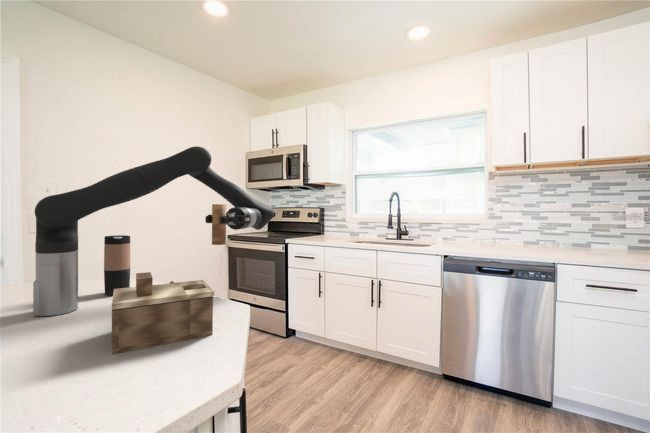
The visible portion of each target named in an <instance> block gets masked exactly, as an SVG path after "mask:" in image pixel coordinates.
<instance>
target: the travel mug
mask: <svg viewBox="0 0 650 433" xmlns="http://www.w3.org/2000/svg"><path fill="white" fill-rule="evenodd" d="M103 239H104V244H103V245H104V249H103V252H104V253H103V256H104V257H103V273H104V274H103V275H104V276H103V280H104V283H103V284H104V295H105V296H106V297H113V292H114V289H119V288H129V287H130V286H131V285H130V284H131V283H130V282H131V235H125V234H123V235H121V234H120V235H119V234H118V235H105V236H104V238H103Z"/></svg>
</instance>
